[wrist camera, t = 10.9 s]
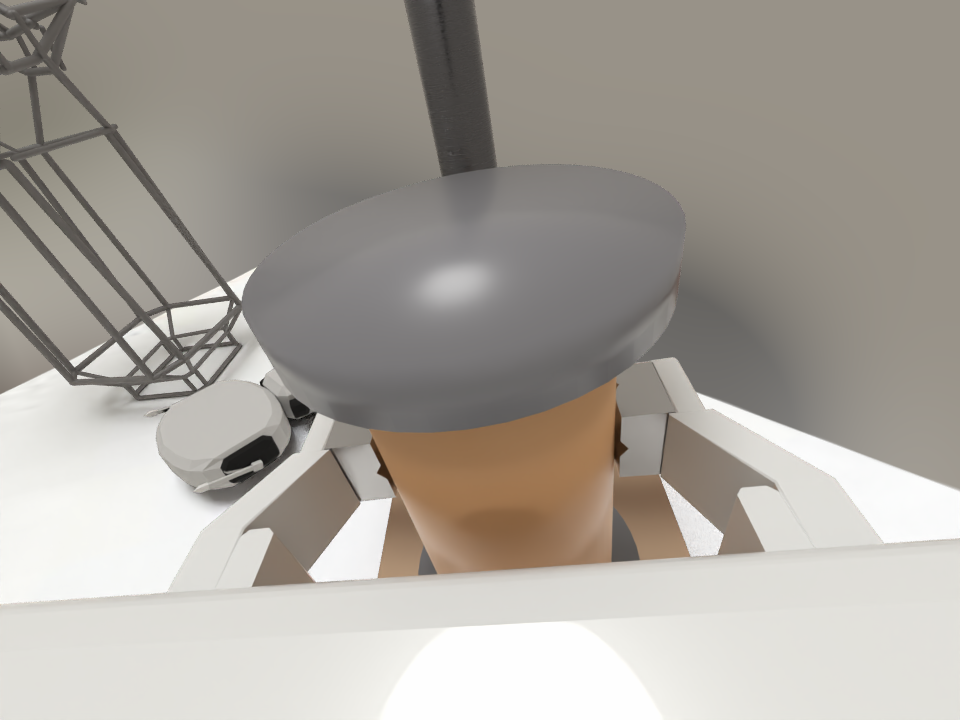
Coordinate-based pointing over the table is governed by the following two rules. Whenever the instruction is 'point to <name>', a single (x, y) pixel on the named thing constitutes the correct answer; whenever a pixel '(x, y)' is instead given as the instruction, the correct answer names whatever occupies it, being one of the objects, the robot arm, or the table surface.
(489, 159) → the hook stand
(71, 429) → the table surface
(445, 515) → the cord spool
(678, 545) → the notched board
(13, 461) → the table surface
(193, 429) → the robot toy
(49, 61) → the geometric lantern
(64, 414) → the table surface
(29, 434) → the table surface
